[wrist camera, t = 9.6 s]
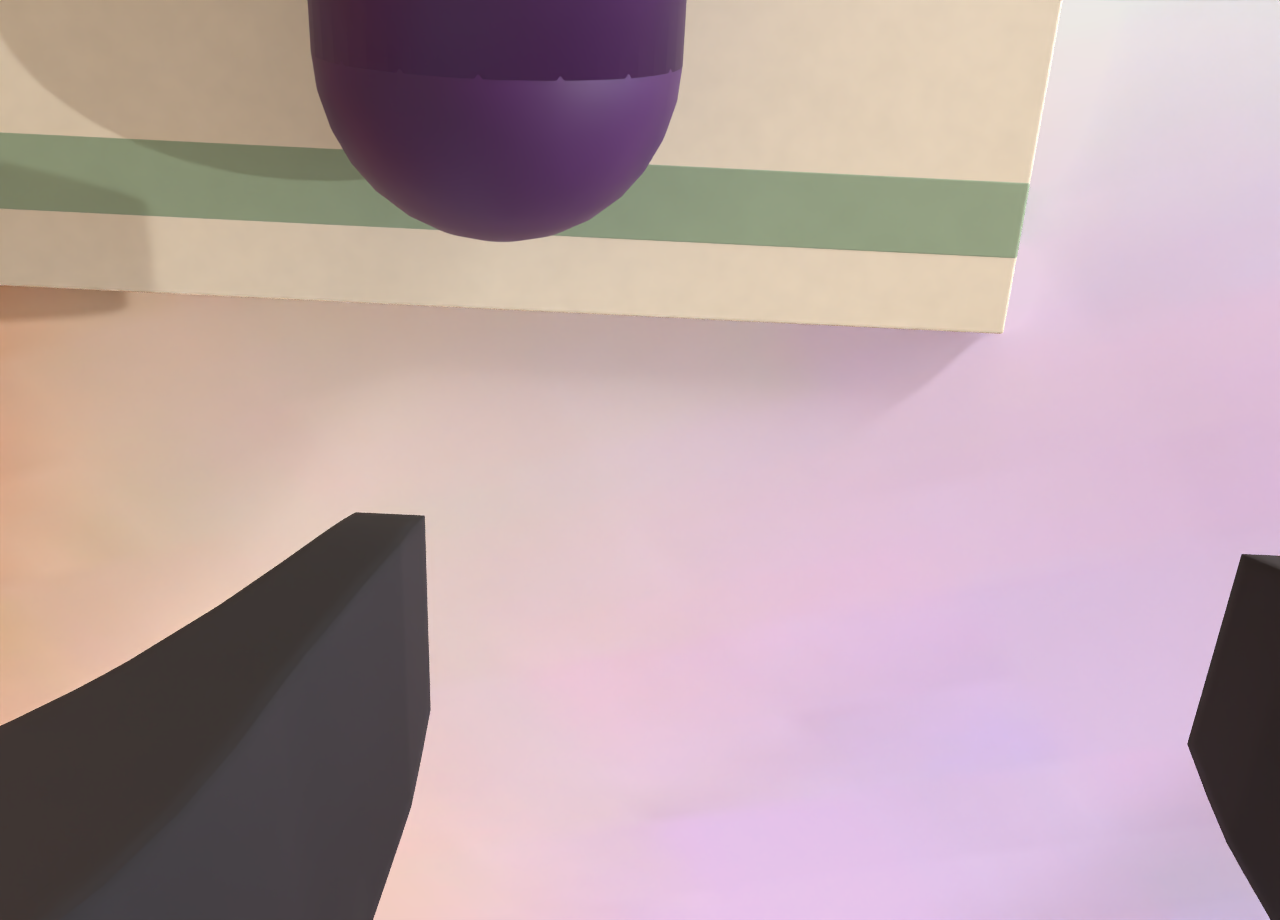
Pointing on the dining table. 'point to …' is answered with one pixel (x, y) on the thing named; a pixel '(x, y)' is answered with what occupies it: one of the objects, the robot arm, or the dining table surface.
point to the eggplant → (499, 104)
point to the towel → (580, 256)
